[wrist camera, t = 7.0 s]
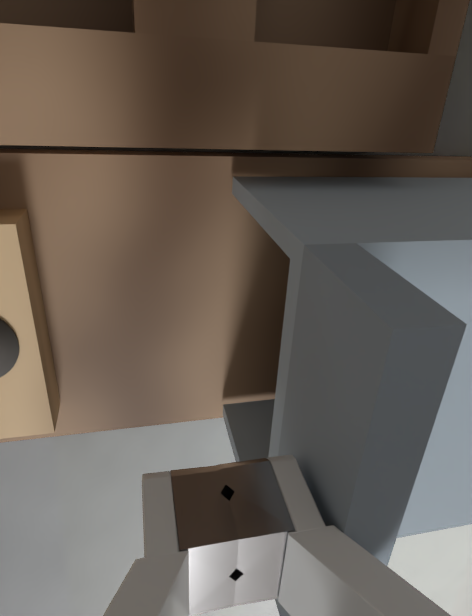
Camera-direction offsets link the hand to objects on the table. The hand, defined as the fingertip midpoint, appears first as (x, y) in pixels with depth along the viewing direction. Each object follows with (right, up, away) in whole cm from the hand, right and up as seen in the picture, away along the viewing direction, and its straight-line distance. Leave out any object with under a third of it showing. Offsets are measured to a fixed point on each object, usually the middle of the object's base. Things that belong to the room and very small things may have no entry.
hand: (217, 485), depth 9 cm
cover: (+4, +4, +7) cm, 9 cm away
